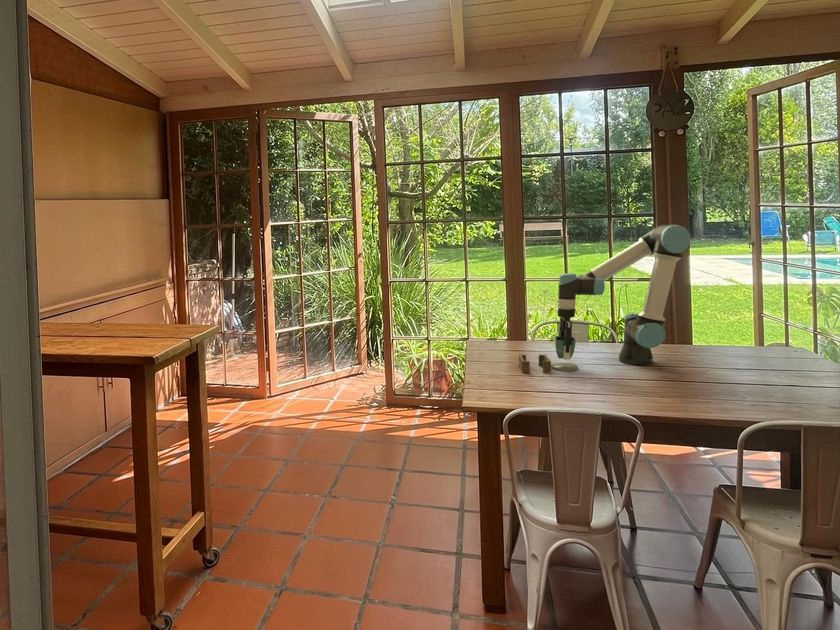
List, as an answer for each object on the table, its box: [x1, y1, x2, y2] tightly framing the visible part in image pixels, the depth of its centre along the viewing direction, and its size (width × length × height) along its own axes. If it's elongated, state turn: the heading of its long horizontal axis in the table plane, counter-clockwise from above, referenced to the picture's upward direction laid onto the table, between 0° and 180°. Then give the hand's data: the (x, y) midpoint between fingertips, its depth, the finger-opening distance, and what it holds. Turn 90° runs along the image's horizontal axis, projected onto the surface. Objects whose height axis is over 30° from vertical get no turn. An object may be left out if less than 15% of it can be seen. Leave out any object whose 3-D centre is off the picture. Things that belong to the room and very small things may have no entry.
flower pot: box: [554, 335, 576, 359], centre depth 242 cm, size 9×9×9 cm
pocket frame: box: [518, 354, 552, 374], centre depth 242 cm, size 13×13×5 cm
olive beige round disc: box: [551, 362, 579, 372], centre depth 244 cm, size 12×12×1 cm
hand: (564, 356), depth 243 cm, fingers closed on flower pot, 9 cm apart
